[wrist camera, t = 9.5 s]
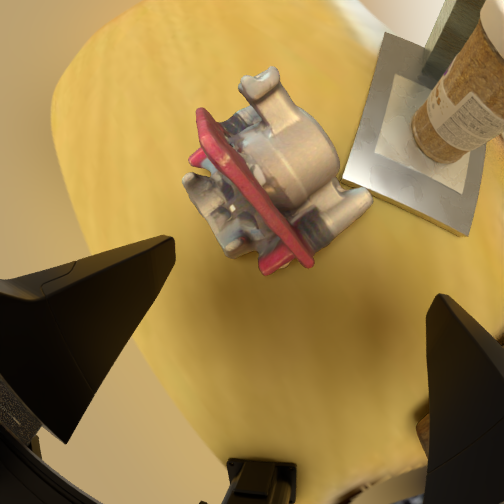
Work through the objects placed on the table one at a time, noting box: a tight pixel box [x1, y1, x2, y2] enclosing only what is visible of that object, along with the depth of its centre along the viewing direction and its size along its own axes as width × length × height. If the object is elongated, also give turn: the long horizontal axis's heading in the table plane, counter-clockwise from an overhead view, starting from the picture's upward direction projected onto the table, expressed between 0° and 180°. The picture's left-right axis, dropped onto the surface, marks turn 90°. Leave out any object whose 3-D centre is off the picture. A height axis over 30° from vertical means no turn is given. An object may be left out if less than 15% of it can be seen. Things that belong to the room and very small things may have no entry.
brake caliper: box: [182, 66, 373, 276], centre depth 16 cm, size 11×11×12 cm
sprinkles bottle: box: [412, 0, 504, 164], centre depth 9 cm, size 5×5×13 cm
